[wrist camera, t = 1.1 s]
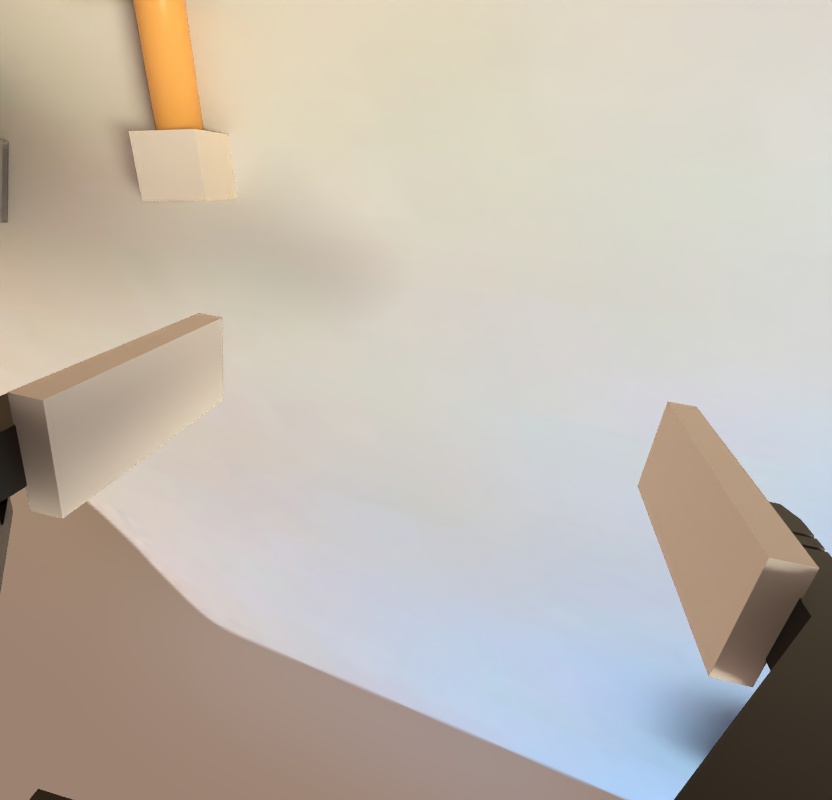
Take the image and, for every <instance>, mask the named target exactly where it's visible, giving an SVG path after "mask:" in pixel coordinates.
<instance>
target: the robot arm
mask: <svg viewBox="0 0 832 800" xmlns="http://www.w3.org/2000/svg"><path fill="white" fill-rule="evenodd" d="M221 401H223V337H222V318H221V317H216V316H211V315H205V314H200V313H198V314H196V315H193V316H191V317H189V318H186V319H184V320H181V321H179V322H176V323H174V324H172V325H169V326H167V327H164V328H162V329H160V330H157V331H155V332H152V333H150V334H148V335H145V336H143V337H140V338H138V339H135V340H133V341H131V342H128V343H126V344H123V345H121V346H119V347H116V348H114V349H111V350H109V351H106V352H104V353H102V354H99V355H97V356H94V357H92V358H90V359H87V360H85V361H82V362H80V363H77V364H75V365H73V366H70V367H68V368H65V369H63V370H61V371H58V372H56V373H53V374H51V375H49V376H46V377H44V378H41V379H39V380H36V381H34V382H32V383H29V384H27V385H24V386H22V387H20V388H17V389H15V390H12V391H10V392H7V394H4V395H2V396H0V590H1V584H2V577H3V571H4V565H5V559H6V552H7V546H8V540H9V533H10V527H11V521H12V513H13V511H12V505H11V501H10V496H11V495H13V494H15V493H16V492H18V491H20V490H21V489H23V488H24V487H26V491H27V496H28V502H29V507H30V511H34V512H37V513H41V514H45V515H49V516H54V517H58V518H62V519H63V518H64V517H65V516H67V515H68V514H70V513H71V512H72V511H74V510H75V509H76V508H78V507H79V506H81V505H82V504H83V503H85V502H86V501H87V500H89V499H90V498H91V497H93V496H94V495H95V494H97V493H98V492H100V491H101V490H102V489H104V488H105V487H106V486H108V485H109V484H110V483H112V482H113V481H114V480H116V479H117V478H118V477H120V476H121V475H123V474H124V473H125V472H127V471H128V470H129V469H131V468H132V467H133V466H135V465H136V464H137V463H139V462H140V461H142V460H143V459H144V458H146V457H147V456H148V455H150V454H151V453H152V452H154V451H155V450H156V449H158V448H159V447H161V446H162V445H163V444H165V443H166V442H167V441H169V440H170V439H171V438H173V437H174V436H175V435H177V434H178V433H179V432H181V431H182V430H184V429H185V428H186V427H188V426H189V425H190V424H192V423H193V422H194V421H196V420H197V419H198V418H200V417H201V416H203V415H204V414H205V413H207V412H208V411H209V410H211V409H212V408H213V407H215V406H216V405H217V404H219V403H220V402H221ZM638 488H639V491H640V493H641V496H642V499H643V501H644V504H645V507H646V510H647V512H648V515H649V518H650V520H651V523H652V526H653V528H654V531H655V534H656V536H657V539H658V542H659V544H660V547H661V550H662V552H663V555H664V558H665V560H666V563H667V566H668V568H669V571H670V574H671V577H672V579H673V582H674V585H675V587H676V590H677V593H678V595H679V598H680V601H681V603H682V606H683V609H684V611H685V614H686V617H687V619H688V622H689V625H690V627H691V630H692V633H693V635H694V638H695V641H696V644H697V646H698V649H699V652H700V654H701V657H702V660H703V662H704V665H705V668H706V670H707V673H708V676H709V677H713V678H717V679H721V680H725V681H729V682H734V683H738V684H742V685H746V686H750V687H753V686H754V684H755V682H756V681H757V679H758V677H759V675H760V673H761V672H762V670H763V668H764V666H765V665H766V663H767V664H768V666H769V668H770V670H771V671H770V673H769V674H768V675H767V677H766V678H765V679H764V681H763V682H762V683H761V685H760V686H759V687H758V689H757V690H756V691H755V693H754V694H753V695H752V697H751V698H750V699H749V701H748V702H747V703H746V705H745V706H744V707H743V709H742V710H741V711H740V712H739V714H738V715H737V716H736V718H735V719H734V720H733V722H732V723H731V724H730V726H729V727H728V728H727V730H726V731H725V732H724V734H723V735H722V736H721V738H720V739H719V740H718V742H717V743H716V744H715V746H714V747H713V748H712V750H711V751H710V752H709V754H708V755H707V756H706V758H705V759H704V760H703V762H702V763H701V764H700V766H699V767H698V768H697V770H696V771H695V772H694V774H693V775H692V776H691V778H690V779H689V780H688V782H687V783H686V784H685V786H684V787H683V788H682V790H681V791H680V792H679V794H678V795H677V796H676V798H675V799H674V800H832V557H831V556H830V555H829V553H828V552H824V550H825V549H824V547H823V546H822V545H821V544H820V542H819V541H818V540H817V539H815V538H814V535H813V534H812V533H811V531H810V530H809V529H808V528H807V526H806V525H805V524H804V523H803V522H802V520H801V519H799V518H798V517H797V516H795V515H794V514H793V513H791V512H790V511H789V510H787V509H786V508H784V507H783V506H782V505H780V504H777V503H772V502H769V501H768V500H767V499H766V497H765V496H764V495H763V494H762V492H761V491H760V490H759V488H758V487H757V486H756V484H755V483H754V482H753V480H752V479H751V478H750V476H749V475H748V474H747V473H746V471H745V470H744V469H743V467H742V466H741V465H740V463H739V462H738V461H737V459H736V458H735V457H734V455H733V454H732V453H731V451H730V450H729V449H728V448H727V446H726V445H725V444H724V442H723V441H722V440H721V438H720V437H719V436H718V434H717V433H716V432H715V430H714V429H713V428H712V426H711V425H710V424H709V423H708V421H707V420H706V419H705V417H704V416H703V415H702V413H701V412H700V411H699V409H698V408H697V407H694V406H689V405H684V404H678V403H673V402H667V405H666V408H665V411H664V414H663V416H662V419H661V422H660V425H659V428H658V430H657V433H656V436H655V439H654V442H653V444H652V447H651V450H650V453H649V456H648V458H647V461H646V464H645V467H644V470H643V473H642V475H641V478H640V481H639V484H638ZM30 800H72V799H69V798H66V797H62V796H59V795H56V794H53V793H50V792H46V791H43V790H40V789H38V790H37V791H36V792H35V793H34V795H33V796H32V797H31V799H30Z"/></svg>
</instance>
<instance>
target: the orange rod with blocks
mask: <svg viewBox="0 0 832 800" xmlns="http://www.w3.org/2000/svg"><path fill="white" fill-rule="evenodd" d="M133 1H134V7H135V13H136V19H137V24H138V30H139V36H140V41H141V47H142V53H143V58H144V64H145V70H146V75H147V81H148V87H149V92H150V98H151V104H152V110H153V115H154V121H155V127H156V130H148V131H129V136H130V141H131V146H132V152H133V157H134V162H135V167H136V172H137V177H138V183H139V188H140V193H141V198H142V201H212V200H229V199H237V196H236V189H235V181H234V173H233V166H232V158H231V150H230V143H229V135H228V134H223V133H217V132H211V131H205V130H204V129H203V122H202V115H201V108H200V102H199V95H198V88H197V81H196V74H195V67H194V60H193V54H192V47H191V40H190V33H189V26H188V19H187V12H186V6H185V0H133Z"/></svg>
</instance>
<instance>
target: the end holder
mask: <svg viewBox="0 0 832 800" xmlns="http://www.w3.org/2000/svg"><path fill="white" fill-rule="evenodd" d="M7 220H8V142H7V141H4V140H2V139H0V223H3V222H7Z"/></svg>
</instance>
